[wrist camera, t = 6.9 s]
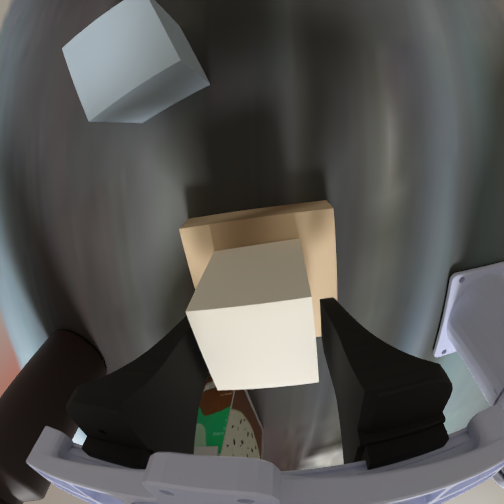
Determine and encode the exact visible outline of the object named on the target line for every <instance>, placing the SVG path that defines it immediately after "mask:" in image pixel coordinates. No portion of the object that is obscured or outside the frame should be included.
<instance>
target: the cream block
mask: <svg viewBox="0 0 504 504" xmlns="http://www.w3.org/2000/svg"><path fill="white" fill-rule="evenodd" d="M185 312H186V315H187V317H188V320H189V323H190V325H191V328H192V330H193V333H194V335H195V338H196V341H197V343H198V345H199V348H200V350H201V353H202V355H203V358H204V360H205V362H206V365H207V367H208V370H209V372H210V374H211V376H212V379H213V381H214V383H215V386H216V388H217V390H242V389H258V388H271V387H282V386H292V385H300V384H308V383H316V382H319V378H318V363H317V350H316V337H315V326H314V315H313V305H312V296H311V291H310V286H309V281H308V276H307V271H306V266H305V262H304V257H303V252H302V248H301V243H300V239H299V238H298V239H291V240H284V241H278V242H271V243H265V244H258V245H252V246H245V247H239V248H232V249H226V250H219V251H214V252H213V254H212V256H211V258H210V260H209V263H208V265H207V267H206V269H205V271H204V273H203V275H202V277H201V279H200V281H199V284H198V286H197V288H196V290H195V292H194V294H193V296H192V298H191V301H190V303H189V305H188V307H187V309H186V311H185Z"/></svg>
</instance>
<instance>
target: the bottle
mask: <svg viewBox="0 0 504 504" xmlns="http://www.w3.org/2000/svg"><path fill="white" fill-rule="evenodd" d="M106 372H107V371H106V367H105V364H104V362H103V360H102V358H101V357H100V355H99V354H98V352H97V351H96V350H95V349H94V348H93V347H92V346H91V345H90V344H89V343H88V342H87V341H86V340H84V339H83V338H81V337H80V336H78V335H77V334H74V333H72V332H69V331H66V330H58V331H56V332H54V333H53V334H52V335H51V336H50V337H49V338H48V339H47V340H46V341H45V343H44V344H43V345H42V346H41V347H40V348H39V350H38V351H37V352H36V353H35V354H34V355H33V357H32V358H31V359H30V360H29V362H28V363H27V364H26V365H25V366H24V368H23V369H22V370H21V371H20V373H19V374H18V375H17V376H16V378H15V379H14V380H13V382H12V383H11V384H10V386H9V387H8V388H7V389H6V391H5V392H4V393H3V395H2V396H1V398H0V504H23V502H27V501H35V500H41V499H43V498H44V497H45V495H46V492H47V490H48V488H49V486H50V484H51V482H50V481H48V480H47V479H46V478H44V477H43V476H42V475H40V474H39V473H38V472H37V471H35V470H34V469H33V468H32V467H31V466H29V465H28V464H27V463H26V460H27V458H28V456H29V454H30V453H31V451H32V449H33V447H34V445H35V444H36V442H37V440H38V438H39V437H40V435H41V433H42V431H43V430H44V428H45V426H48V427H51V428H54V429H56V430H59V431H61V432H63V433H64V434H66V435H67V436H68V437H69V438H70V439H71V440H72V439H73V437H74V435H75V433H76V431H77V429H78V427H79V426H78V425H77V424H76V423H75V422H74V421H73V420H72V418H71V417H70V416H69V414H68V412H67V410H66V404H67V402H68V401H69V399H70V398H71V396H72V394H73V393H74V391H75V389H76V388H77V386H78V385H81V384H84V383H87V382H90V381H93V380H96V379H99V378H101V377H104V376H106Z"/></svg>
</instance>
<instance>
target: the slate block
mask: <svg viewBox="0 0 504 504" xmlns="http://www.w3.org/2000/svg"><path fill="white" fill-rule="evenodd" d="M62 50H63V53H64V56H65V59H66V62H67V65H68V68H69V71H70V74H71V77H72V79H73V82H74V85H75V88H76V90H77V93H78V96H79V98H80V101H81V103H82V106H83V108H84V111H85V113H86V116H87V118H88V121H89V122H128V123H143V122H145V121H147V120H148V119H150V118H151V117H153V116H155V115H156V114H158V113H160V112H161V111H163V110H165V109H166V108H168V107H170V106H171V105H173V104H175V103H177V102H178V101H180V100H182V99H184V98H186V97H188V96H189V95H191V94H193V93H195V92H197V91H199V90H201V89H203V88H205V87H207V86H209V85H210V83H209V81H208V79H207V77H206V75H205V73H204V71H203V69H202V67H201V65H200V63H199V61H198V59H197V57H196V56H195V54H194V52H193V50H192V48H191V46H190V44H189V42H188V41H187V39H186V37H185V35H184V33H183V31H182V29H181V28H180V26H179V25H178V24H177V23H176V22H175V21H174V20H173V18H172V17H171V16H170V15H169V14H168V13H167V12H166V11H165V10H164V9H163V8H162V7H161V6H160V5H159V4H158V3H157V2H156V1H155V0H124V1H122V2H120V3H119V4H118V5H116V6H115V7H113V8H112V9H110V10H109V11H107V12H106V13H105V14H103V15H102V16H101V17H99V18H98V19H97V20H95V21H94V22H93V23H91V24H90V25H89V26H88V27H86V28H85V29H84V30H83V31H81V32H80V33H79V34H78V35H77V36H75V37H74V38H73V39H72V40H71V41H70V42H69V43H67V44H66V45H65V46H64V47H63V48H62Z"/></svg>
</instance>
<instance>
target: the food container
mask: <svg viewBox="0 0 504 504" xmlns="http://www.w3.org/2000/svg"><path fill="white" fill-rule="evenodd" d="M194 454H195V455H208V456H231V457H250V458H259V459H262V460H263V427H262V424H261V422H260V420H259V417H258V415H257V413H256V410H255V408H254V406H253V403H252V401H251V399H250V396H249V394H248V391H247V389H242V390H217V388H216V386H215V383H214V381H213V379H212V376H211V377H209V378H208V379H207V380H206V382H205V386H204V389H203V393H202V397H201V400H200V405H199V410H198V417H197V424H196V433H195V444H194Z"/></svg>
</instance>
